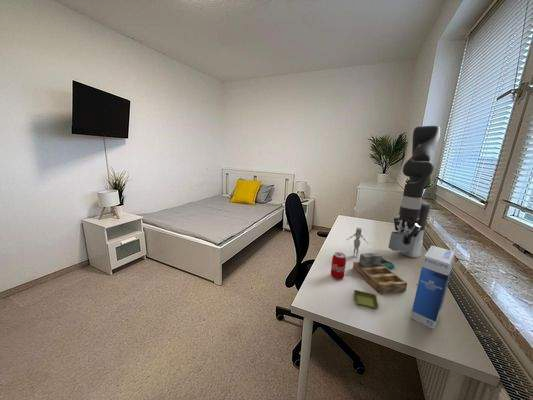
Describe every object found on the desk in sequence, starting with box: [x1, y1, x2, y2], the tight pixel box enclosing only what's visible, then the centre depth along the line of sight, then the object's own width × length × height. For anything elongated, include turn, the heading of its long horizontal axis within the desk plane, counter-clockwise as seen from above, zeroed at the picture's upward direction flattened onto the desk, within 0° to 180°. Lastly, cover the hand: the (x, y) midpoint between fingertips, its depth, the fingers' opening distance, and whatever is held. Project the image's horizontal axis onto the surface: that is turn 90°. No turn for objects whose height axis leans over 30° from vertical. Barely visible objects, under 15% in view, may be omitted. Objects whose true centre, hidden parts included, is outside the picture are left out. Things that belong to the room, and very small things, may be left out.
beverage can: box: [330, 252, 347, 281], centre depth 103 cm, size 6×6×12 cm
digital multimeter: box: [381, 257, 395, 270], centre depth 119 cm, size 7×15×3 cm, turn 21°
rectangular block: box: [388, 231, 416, 252], centre depth 97 cm, size 10×3×8 cm, turn 100°
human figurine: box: [346, 227, 369, 259], centre depth 123 cm, size 12×4×18 cm, turn 66°
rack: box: [352, 252, 408, 294], centre depth 102 cm, size 14×20×10 cm
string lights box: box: [410, 245, 456, 330], centre depth 78 cm, size 13×8×26 cm, turn 133°
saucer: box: [353, 289, 380, 310], centre depth 87 cm, size 9×9×2 cm
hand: (403, 242), depth 98 cm, fingers closed on rectangular block, 3 cm apart
